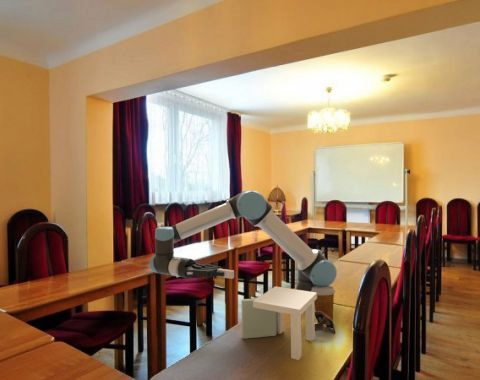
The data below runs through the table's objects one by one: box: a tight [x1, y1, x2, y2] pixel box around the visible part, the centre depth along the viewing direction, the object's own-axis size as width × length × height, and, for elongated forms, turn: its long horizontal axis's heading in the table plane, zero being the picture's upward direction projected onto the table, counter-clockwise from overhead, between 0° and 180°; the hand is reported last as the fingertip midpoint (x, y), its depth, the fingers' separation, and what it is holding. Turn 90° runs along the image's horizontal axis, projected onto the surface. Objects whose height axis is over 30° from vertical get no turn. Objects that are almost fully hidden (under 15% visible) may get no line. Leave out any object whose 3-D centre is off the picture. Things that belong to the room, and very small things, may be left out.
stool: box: [253, 286, 317, 361], centre depth 110 cm, size 18×16×16 cm
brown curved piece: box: [314, 310, 336, 334], centre depth 121 cm, size 12×10×8 cm
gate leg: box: [241, 297, 279, 340], centre depth 116 cm, size 13×2×13 cm, turn 100°
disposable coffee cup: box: [311, 285, 336, 320], centre depth 133 cm, size 10×10×12 cm
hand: (232, 274), depth 119 cm, fingers closed
